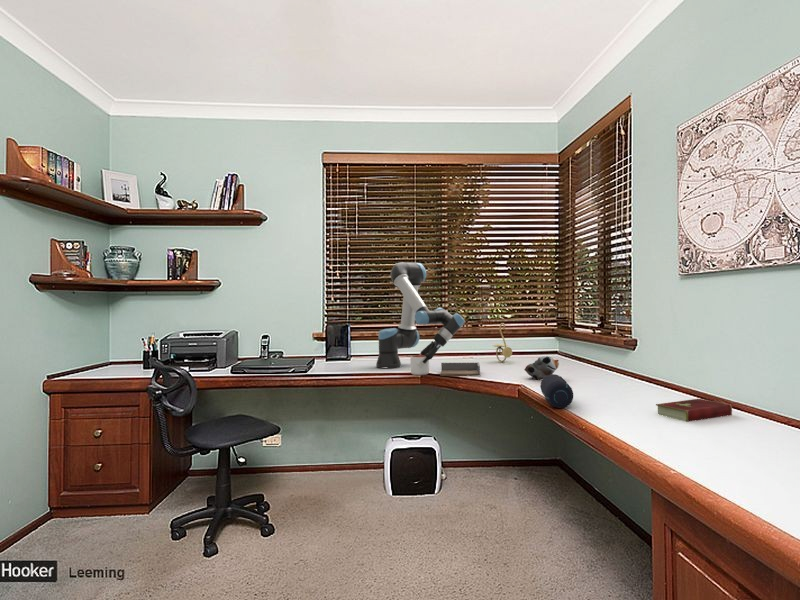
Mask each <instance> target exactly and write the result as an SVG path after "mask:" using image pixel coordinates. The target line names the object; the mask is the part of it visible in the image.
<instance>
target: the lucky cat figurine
mask: <svg viewBox="0 0 800 600" xmlns="http://www.w3.org/2000/svg"><path fill="white" fill-rule="evenodd" d="M559 361H560V360H559V359H554V358H553V357H551V356H548V355H547V356H540V357H538V358H537V359H535V361H534V362H531V363H528V365H526V366H525V368H524V372H526V373H527V374H528V375H529V376H530V377H531V378H535V379H536V380H537V379H543V378H544V377H545V376H547V375H550V374H555V372H556V371H557V369H558V368H559V366H560V363H559Z"/></svg>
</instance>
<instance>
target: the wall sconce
mask: <svg viewBox="0 0 800 600" xmlns="http://www.w3.org/2000/svg"><path fill="white" fill-rule="evenodd" d="M502 325H503V326H502ZM505 329H506V324H505V323H504V322H501V323H500V324H499V333H500V336H501V338H502V341H503V344H492V346H493V347H496V349H495V353H496V355H495V356H496V359H497V360H498V361H499V362H500V363H504V362H505V361H506V359H507V358H510V357H511V356H512V355H513V350H512V348H511V347H509V346H508V344H506V340H505V337H504V335H503V332H502V330H505ZM503 347H504V348H503ZM498 352H499V353H498ZM499 355H501V356H503V357H504V359H503V360H501V359H500V358H499Z"/></svg>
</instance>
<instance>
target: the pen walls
mask: <svg viewBox="0 0 800 600" xmlns="http://www.w3.org/2000/svg"><path fill="white" fill-rule="evenodd" d="M440 363H441V365H440V366H441V367H440V368H441V370H478V374H480V375H481V365H480V362H440Z"/></svg>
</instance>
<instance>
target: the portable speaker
mask: <svg viewBox="0 0 800 600" xmlns="http://www.w3.org/2000/svg"><path fill="white" fill-rule="evenodd" d="M540 381H541V382H540V384H539V385H540V386H539V387H540V390H541V391H540V392H541V393H542V395H543V396H544V398H545V400H546V401H547V402H548V404H549V405H550V406H552V407H554V408H556V409H564V408H567V407H568V406H570V405H571V404H572V402H573V400H574V390H573V388H572V386H571V385H570V384H569V383H567V381H566V380H565V379H564V378H563V377H562V376H561V375H559V374H555V373H553V374H550V375H547V376H545V377H544V378H543V380H540Z"/></svg>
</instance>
